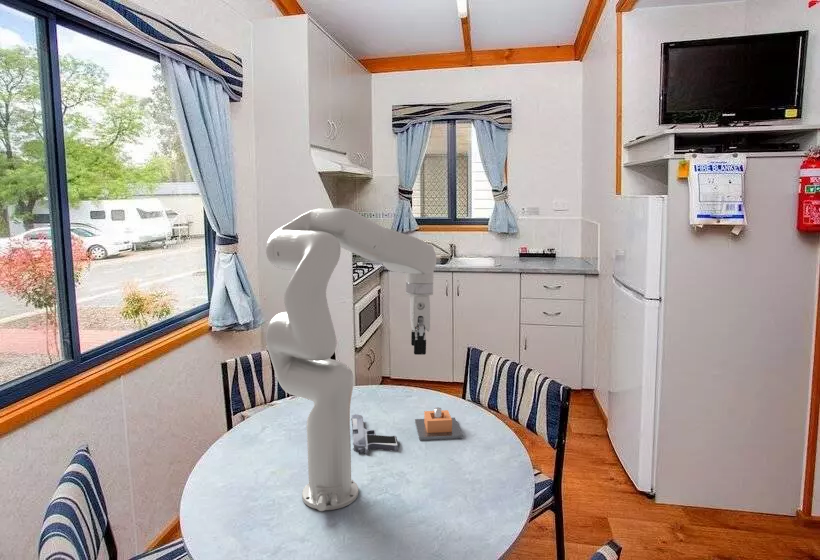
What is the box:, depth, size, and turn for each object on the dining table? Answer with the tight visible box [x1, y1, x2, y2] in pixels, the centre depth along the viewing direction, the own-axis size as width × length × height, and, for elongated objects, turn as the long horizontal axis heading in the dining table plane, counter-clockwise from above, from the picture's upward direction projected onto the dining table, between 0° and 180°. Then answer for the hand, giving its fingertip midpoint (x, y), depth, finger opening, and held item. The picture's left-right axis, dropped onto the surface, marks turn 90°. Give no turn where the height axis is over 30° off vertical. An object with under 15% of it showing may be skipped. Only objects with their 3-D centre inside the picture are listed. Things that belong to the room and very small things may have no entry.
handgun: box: [350, 413, 399, 456], centre depth 150 cm, size 2×22×12 cm
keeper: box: [414, 406, 463, 441], centre depth 153 cm, size 12×12×6 cm
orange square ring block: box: [423, 409, 452, 433], centre depth 153 cm, size 7×7×4 cm
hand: (418, 349), depth 148 cm, fingers open, 9 cm apart
